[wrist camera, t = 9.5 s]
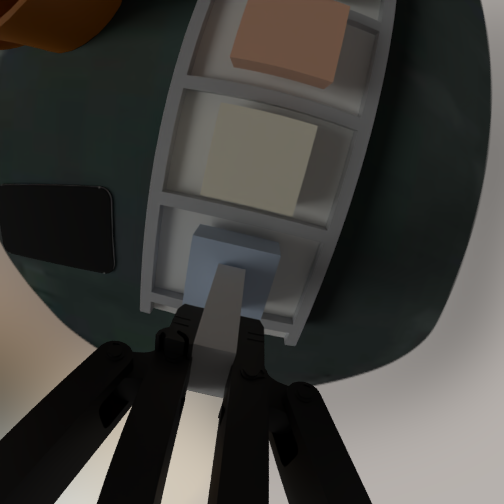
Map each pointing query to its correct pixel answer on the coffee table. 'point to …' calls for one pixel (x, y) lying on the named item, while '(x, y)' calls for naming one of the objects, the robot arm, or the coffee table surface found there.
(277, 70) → the key terracotta
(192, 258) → the key blue
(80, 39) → the mug
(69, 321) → the coffee table surface
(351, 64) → the keypad
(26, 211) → the smartphone
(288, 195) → the key cream
